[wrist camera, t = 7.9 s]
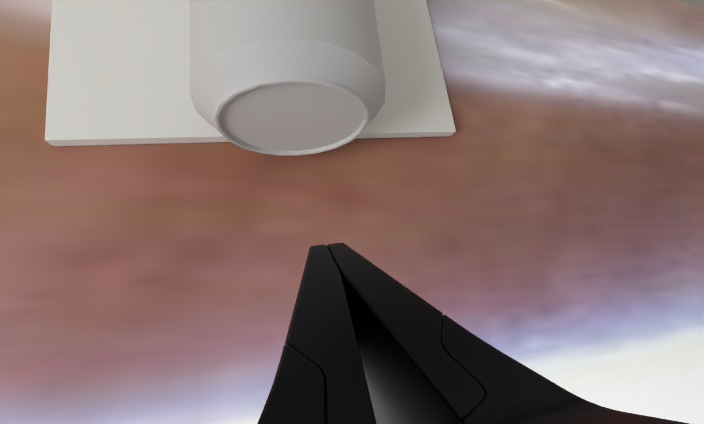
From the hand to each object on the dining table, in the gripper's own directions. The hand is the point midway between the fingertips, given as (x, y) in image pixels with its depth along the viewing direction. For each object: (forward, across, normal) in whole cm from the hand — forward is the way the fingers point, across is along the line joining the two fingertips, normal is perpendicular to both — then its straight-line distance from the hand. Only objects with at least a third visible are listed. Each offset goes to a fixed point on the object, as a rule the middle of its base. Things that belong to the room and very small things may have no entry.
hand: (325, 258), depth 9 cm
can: (+6, 0, -1) cm, 7 cm away
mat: (+16, 0, -5) cm, 16 cm away
